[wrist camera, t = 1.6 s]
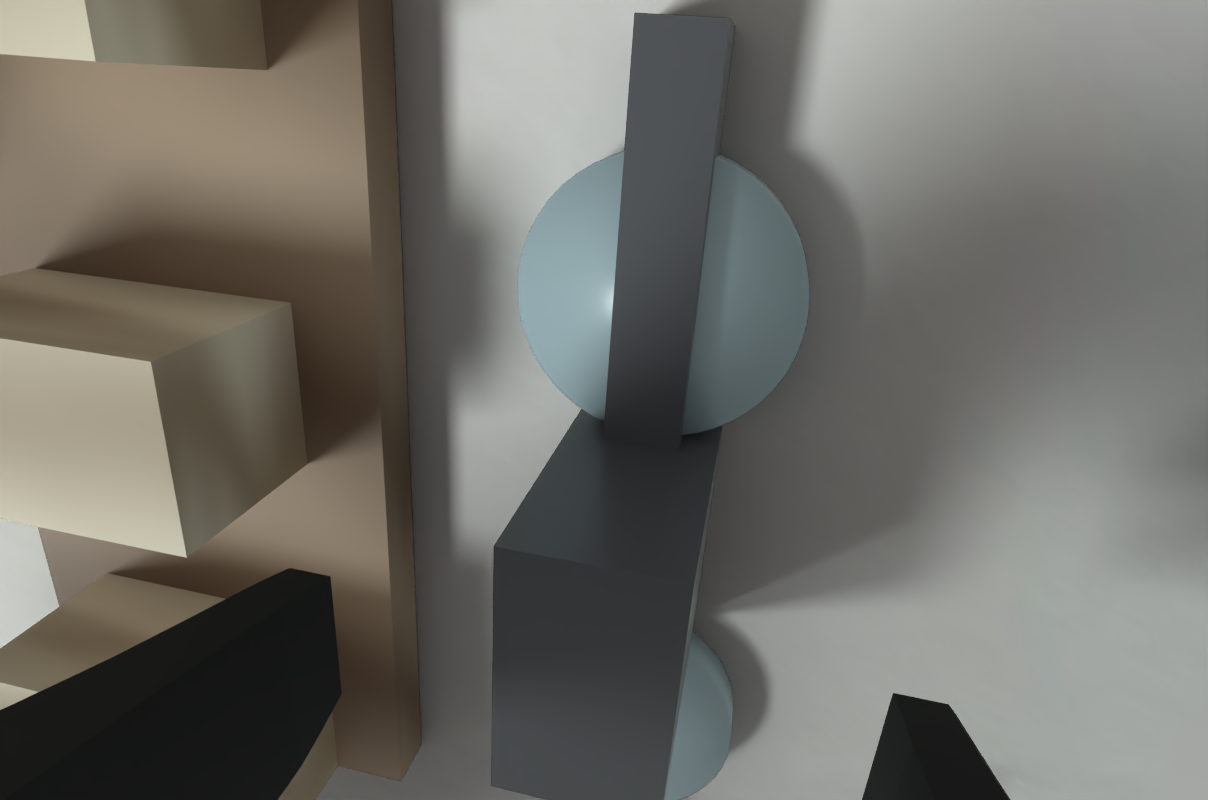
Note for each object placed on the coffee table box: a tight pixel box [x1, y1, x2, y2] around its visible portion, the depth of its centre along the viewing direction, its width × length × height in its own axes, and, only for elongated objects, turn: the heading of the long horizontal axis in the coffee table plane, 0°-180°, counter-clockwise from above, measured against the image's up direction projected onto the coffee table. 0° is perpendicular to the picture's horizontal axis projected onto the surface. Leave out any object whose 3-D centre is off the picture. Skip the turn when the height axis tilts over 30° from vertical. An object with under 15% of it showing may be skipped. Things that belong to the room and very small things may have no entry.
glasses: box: [491, 13, 810, 800], centre depth 11 cm, size 16×4×4 cm, turn 176°
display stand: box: [0, 0, 421, 800], centre depth 12 cm, size 18×8×4 cm, turn 176°
